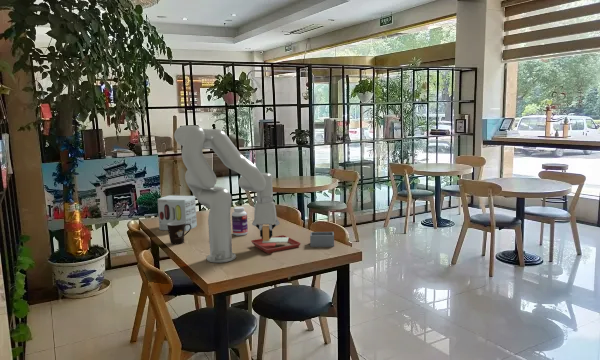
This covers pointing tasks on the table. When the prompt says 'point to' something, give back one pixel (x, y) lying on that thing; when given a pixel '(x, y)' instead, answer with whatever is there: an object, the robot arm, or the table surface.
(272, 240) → the white tan l-shaped piece
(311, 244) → the tub
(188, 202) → the supplement box
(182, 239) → the coffee mug
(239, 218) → the pill bottle
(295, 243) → the plant saucer
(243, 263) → the table surface
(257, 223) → the robot arm
